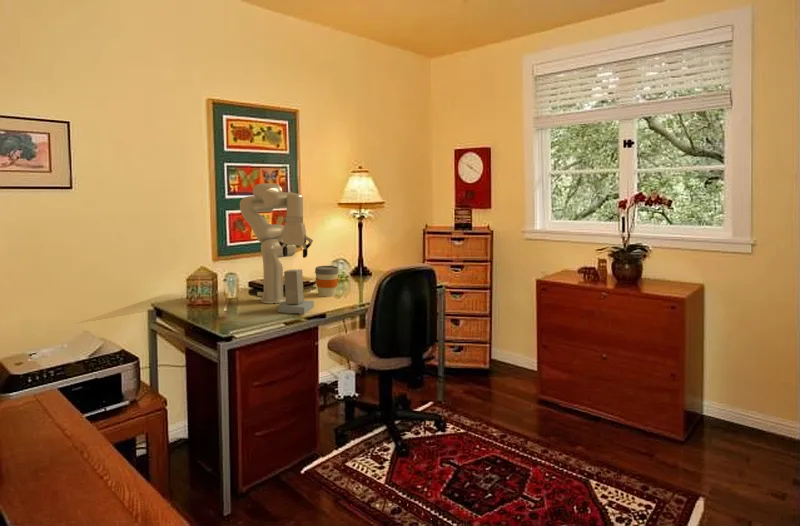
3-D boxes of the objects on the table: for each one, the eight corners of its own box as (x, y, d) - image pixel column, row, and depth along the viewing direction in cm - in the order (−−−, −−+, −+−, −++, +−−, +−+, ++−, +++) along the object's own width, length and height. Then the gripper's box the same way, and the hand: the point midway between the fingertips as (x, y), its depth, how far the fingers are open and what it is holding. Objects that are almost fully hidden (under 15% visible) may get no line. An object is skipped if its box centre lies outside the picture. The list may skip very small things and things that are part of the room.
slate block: (278, 313, 255) (277, 305, 254) (288, 307, 267) (288, 299, 267) (304, 315, 252) (304, 307, 252) (313, 308, 265) (313, 300, 264)
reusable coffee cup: (319, 291, 300) (319, 265, 298) (341, 293, 298) (341, 266, 295) (311, 296, 288) (311, 268, 286) (334, 298, 286) (334, 270, 283)
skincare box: (298, 304, 255) (297, 271, 253) (284, 304, 256) (283, 271, 254) (304, 301, 263) (304, 268, 261) (290, 300, 264) (289, 268, 262)
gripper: (274, 220, 251) (274, 256, 254) (309, 222, 248) (309, 259, 251) (280, 218, 258) (281, 254, 261) (315, 220, 255) (315, 256, 258)
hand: (295, 256), depth 256 cm, fingers open, 9 cm apart
